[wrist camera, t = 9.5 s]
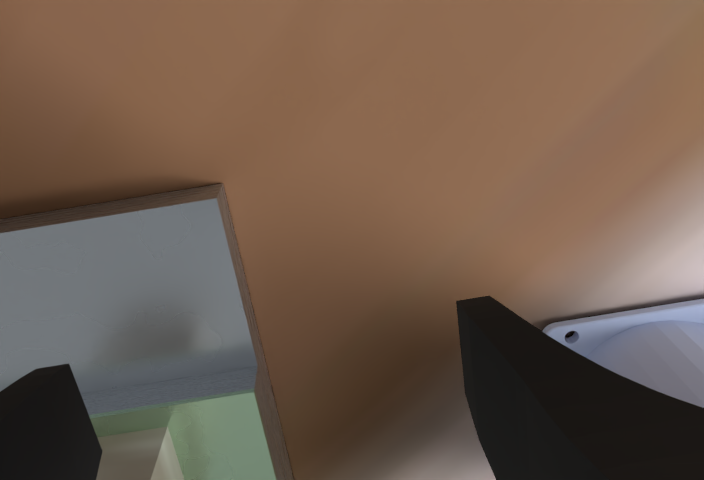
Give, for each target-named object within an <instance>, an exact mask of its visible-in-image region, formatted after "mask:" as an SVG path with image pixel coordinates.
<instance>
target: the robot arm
mask: <svg viewBox="0 0 704 480" xmlns="http://www.w3.org/2000/svg"><path fill="white" fill-rule="evenodd" d="M456 304H457V314H458V325H459V335H460V345H461V355H462V365H463V376H464V386H465V394H466V397H467V401H468V404H469V408H470V411H471V415H472V418H473V422H474V425H475V428H476V431H477V435H478V438H479V441H480V443H481V445H482V448H483V450H484V452H485V455H486V457H487V459H488V462H489V464H490V466H491V469H492V471H493V473H494V475H495V478H496V480H704V299H698V300H692V301H686V302H679V303H673V304H667V305H661V306H654V307H648V308H642V309H636V310H630V311H623V312H617V313H611V314H605V315H599V316H592V317H586V318H580V319H574V320H567V321H561V322H555V323H552V324H549V325H548V326H546V327H545V328H544V329H543V331H540V330H539V329H537V328H536V327H534V326H533V325H531V324H530V323H528V322H527V321H525V320H524V319H522V318H521V317H519V316H518V315H517V314H515V313H514V312H512V311H511V310H509V309H508V308H506V307H505V306H504V305H502V304H501V303H499V302H498V301H496V300H495V299H493V298H492V297H490V296H485V297H478V298H472V299H466V300H460V301H456ZM570 331H575V332H574V334H573V335H572V336H571V337H569V338H565V335H566V334H567V333H568V332H570ZM101 456H102V449H101V446H100V443H99V441H98V438H97V435H96V433H95V430H94V428H93V425H92V422H91V420H90V417H89V414H88V412H87V409H86V407H85V404H84V401H83V399H82V396H81V393H80V391H79V388H78V386H77V383H76V380H75V378H74V375H73V373H72V370H71V367H70V365H69V364H62V365H56V366H50V367H44V368H38V369H35V370H33V371H31V372H30V373H28V374H26V375H24V376H23V377H21V378H20V379H18V380H17V381H15V382H14V383H12V384H11V385H9V386H8V387H6V388H5V389H3V390H2V391H0V480H96V478H97V473H98V469H99V464H100V460H101Z"/></svg>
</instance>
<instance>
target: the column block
mask: <svg viewBox="0 0 704 480" xmlns="http://www.w3.org/2000/svg"><path fill="white" fill-rule="evenodd" d="M97 438H98V441H99V443H100V446H101V449H102V456H101V460H100V464H99V469H98V473H97V478H96V480H184V477H183V474H182V471H181V468H180V464H179V461H178V458H177V455H176V452H175V449H174V445H173V442H172V439H171V436H170V433H169V430H168V427H162V428H155V429H149V430H142V431H136V432H129V433H123V434H116V435H110V436H103V437H97Z"/></svg>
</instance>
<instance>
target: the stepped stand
mask: <svg viewBox="0 0 704 480" xmlns="http://www.w3.org/2000/svg"><path fill="white" fill-rule="evenodd" d="M62 364H69V365H70V367H71V370H72V373H73V375H74V378H75V380H76V383H77V386H78V388H79V391H80V393H81V396H82V399H83V401H84V404H85V407H86V409H87V412H88V414H89V417H90V420H91V422H92V425H93V428H94V430H95V433H96V435H97V437H103V436H110V435H116V434H123V433H129V432H136V431H142V430H149V429H155V428H162V427H168V430H169V433H170V436H171V439H172V442H173V445H174V449H175V452H176V455H177V458H178V461H179V464H180V468H181V471H182V474H183V477H184V480H294V478H293V474H292V470H291V465H290V461H289V457H288V453H287V449H286V445H285V440H284V436H283V432H282V428H281V424H280V420H279V415H278V411H277V407H276V403H275V399H274V395H273V390H272V386H271V382H270V378H269V374H268V369H267V365H266V361H265V357H264V353H263V349H262V344H261V340H260V336H259V332H258V328H257V324H256V319H255V315H254V311H253V307H252V303H251V299H250V294H249V290H248V286H247V282H246V278H245V273H244V269H243V265H242V261H241V257H240V253H239V248H238V244H237V240H236V236H235V232H234V228H233V223H232V219H231V215H230V211H229V207H228V202H227V198H226V194H225V190H224V186H223V183H221V184H215V185H209V186H203V187H197V188H191V189H184V190H178V191H172V192H166V193H160V194H154V195H147V196H141V197H135V198H129V199H123V200H117V201H110V202H104V203H98V204H92V205H86V206H80V207H73V208H67V209H61V210H55V211H49V212H42V213H36V214H30V215H24V216H18V217H12V218H5V219H0V391H2V390H3V389H5V388H6V387H8V386H9V385H11V384H12V383H14V382H15V381H17V380H18V379H20V378H21V377H23V376H24V375H26V374H28V373H30V372H31V371H33V370H35V369H38V368H44V367H50V366H56V365H62Z"/></svg>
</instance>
